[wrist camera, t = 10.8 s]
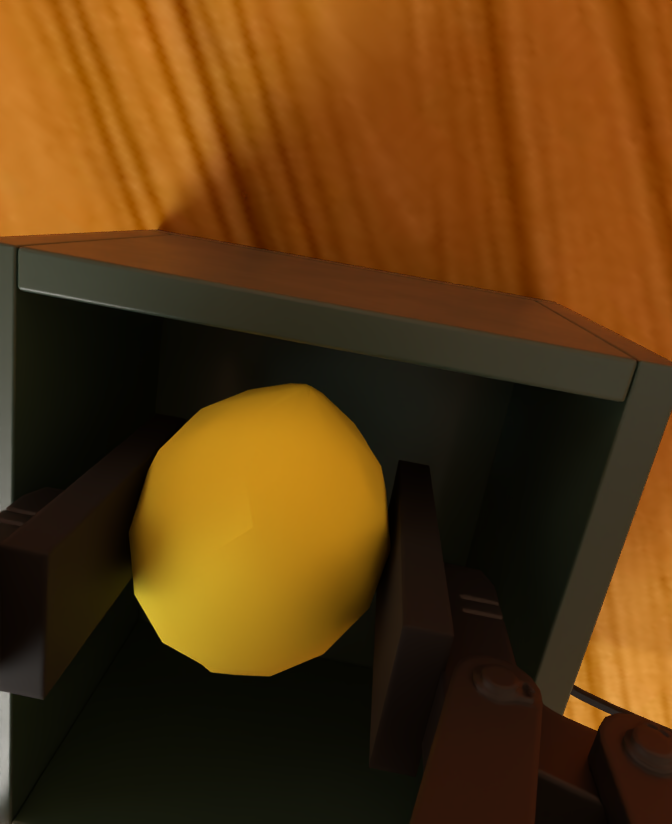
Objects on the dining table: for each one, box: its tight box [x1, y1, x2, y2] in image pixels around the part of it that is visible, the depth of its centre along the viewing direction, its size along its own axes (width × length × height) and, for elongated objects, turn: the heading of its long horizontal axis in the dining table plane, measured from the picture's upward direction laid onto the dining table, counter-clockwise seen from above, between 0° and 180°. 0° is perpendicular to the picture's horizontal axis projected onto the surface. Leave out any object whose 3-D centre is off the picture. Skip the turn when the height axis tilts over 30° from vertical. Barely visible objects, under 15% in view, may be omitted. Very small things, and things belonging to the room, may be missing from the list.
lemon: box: [129, 383, 391, 676], centre depth 13 cm, size 7×5×5 cm
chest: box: [0, 230, 672, 824], centre depth 17 cm, size 15×13×9 cm
